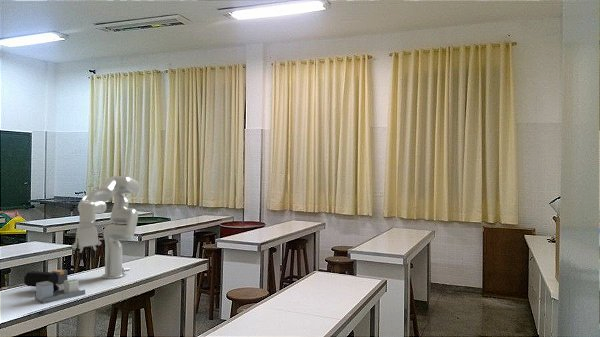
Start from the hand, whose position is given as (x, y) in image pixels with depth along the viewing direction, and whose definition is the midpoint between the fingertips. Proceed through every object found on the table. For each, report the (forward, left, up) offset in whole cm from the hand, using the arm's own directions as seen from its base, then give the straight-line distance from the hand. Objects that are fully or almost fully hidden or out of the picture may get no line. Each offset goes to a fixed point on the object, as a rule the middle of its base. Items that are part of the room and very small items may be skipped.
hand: (86, 258), depth 223 cm
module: (+8, 0, -17) cm, 18 cm away
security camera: (+15, -16, -18) cm, 28 cm away
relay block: (+2, -28, -18) cm, 33 cm away
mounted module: (+21, 0, -18) cm, 27 cm away
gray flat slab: (+13, 0, -18) cm, 22 cm away
